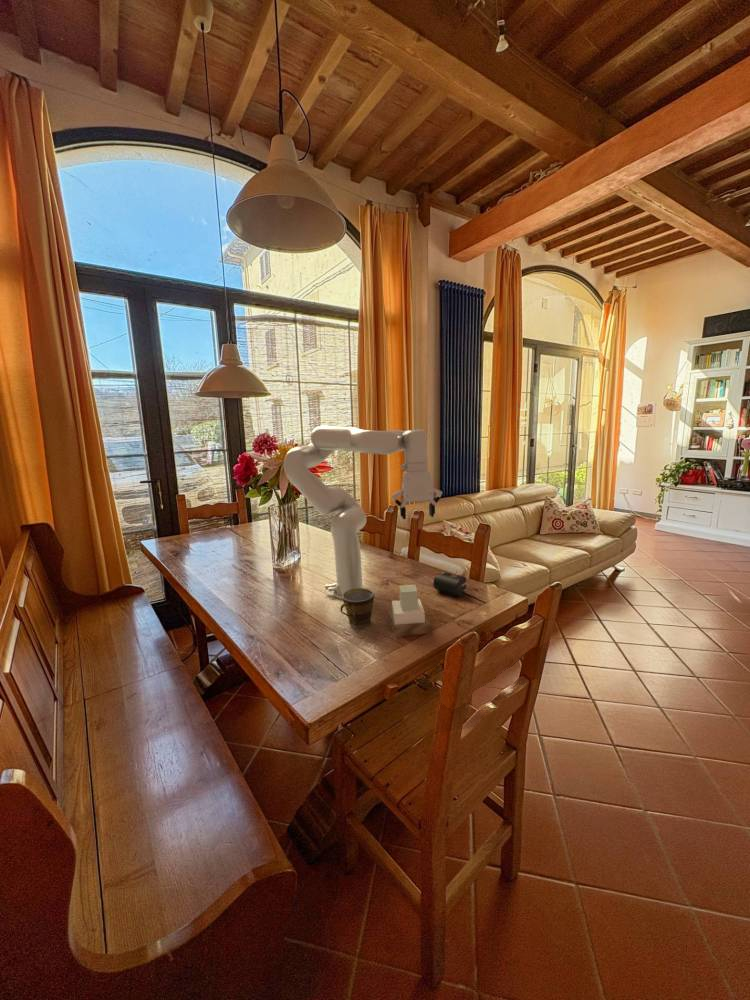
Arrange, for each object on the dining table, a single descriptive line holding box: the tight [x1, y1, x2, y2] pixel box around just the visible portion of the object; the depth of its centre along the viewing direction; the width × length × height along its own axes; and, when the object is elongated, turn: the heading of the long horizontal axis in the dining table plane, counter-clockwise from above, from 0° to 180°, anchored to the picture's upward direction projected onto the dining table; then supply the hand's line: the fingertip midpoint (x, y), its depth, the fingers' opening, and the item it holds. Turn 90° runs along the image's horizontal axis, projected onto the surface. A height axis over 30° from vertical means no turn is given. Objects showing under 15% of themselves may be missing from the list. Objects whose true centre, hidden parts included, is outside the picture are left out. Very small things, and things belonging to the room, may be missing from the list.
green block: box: [398, 584, 419, 611], centre depth 125 cm, size 5×5×6 cm
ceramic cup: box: [340, 588, 375, 630], centre depth 127 cm, size 13×10×10 cm
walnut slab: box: [388, 610, 432, 638], centre depth 126 cm, size 11×11×4 cm
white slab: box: [391, 598, 426, 625], centre depth 126 cm, size 9×9×4 cm
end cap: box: [432, 572, 467, 598], centre depth 148 cm, size 10×7×7 cm
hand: (417, 517), depth 138 cm, fingers open, 9 cm apart
